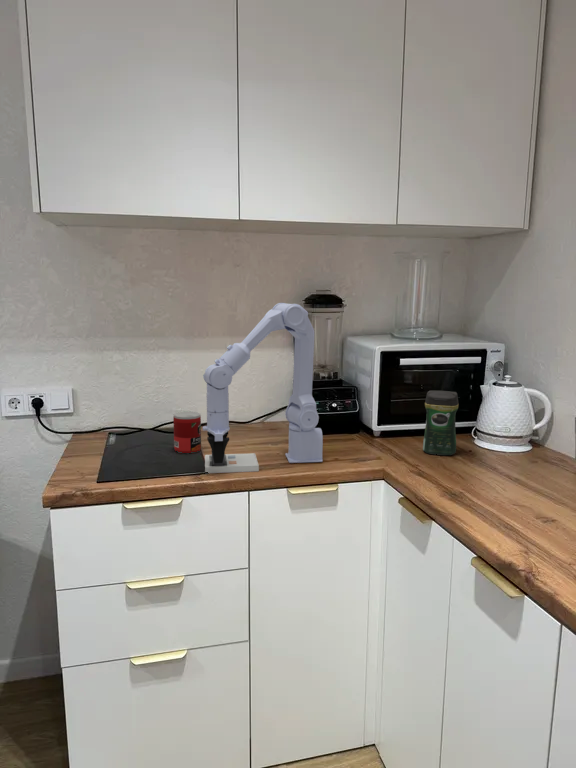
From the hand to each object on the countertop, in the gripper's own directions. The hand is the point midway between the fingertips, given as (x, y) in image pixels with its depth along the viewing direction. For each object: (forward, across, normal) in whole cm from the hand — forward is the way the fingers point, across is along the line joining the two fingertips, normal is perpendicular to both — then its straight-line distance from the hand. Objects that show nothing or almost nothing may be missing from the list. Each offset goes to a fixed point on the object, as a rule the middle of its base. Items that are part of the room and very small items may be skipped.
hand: (218, 460), depth 152 cm
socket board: (+2, -2, +4) cm, 5 cm away
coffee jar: (+3, -8, +66) cm, 66 cm away
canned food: (+3, -18, -8) cm, 21 cm away
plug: (+2, 0, 0) cm, 2 cm away
